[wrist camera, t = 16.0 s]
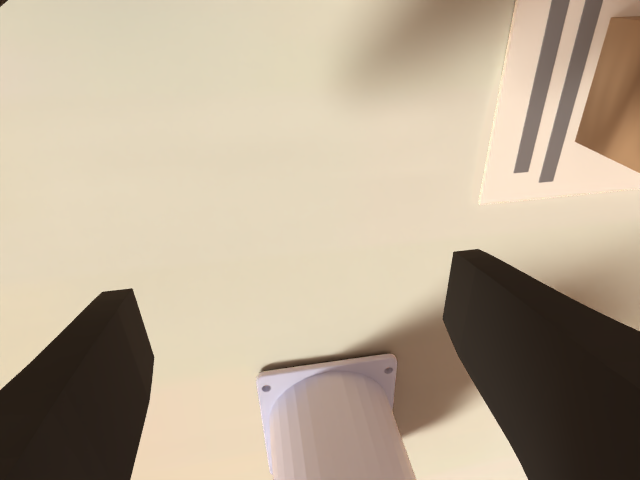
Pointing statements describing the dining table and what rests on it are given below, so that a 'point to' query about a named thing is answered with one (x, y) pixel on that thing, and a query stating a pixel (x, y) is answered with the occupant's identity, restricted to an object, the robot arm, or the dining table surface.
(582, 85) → the flyer
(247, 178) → the dining table surface
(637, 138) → the walnut cube
